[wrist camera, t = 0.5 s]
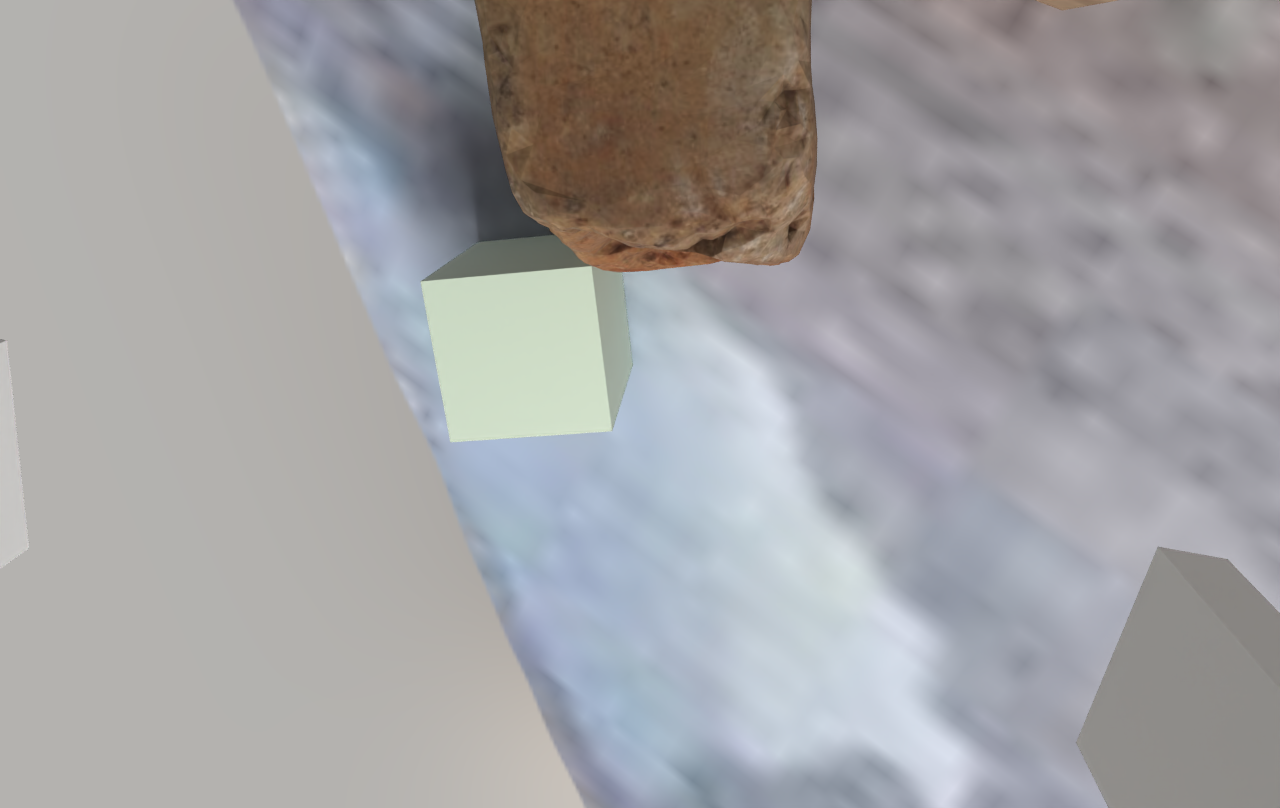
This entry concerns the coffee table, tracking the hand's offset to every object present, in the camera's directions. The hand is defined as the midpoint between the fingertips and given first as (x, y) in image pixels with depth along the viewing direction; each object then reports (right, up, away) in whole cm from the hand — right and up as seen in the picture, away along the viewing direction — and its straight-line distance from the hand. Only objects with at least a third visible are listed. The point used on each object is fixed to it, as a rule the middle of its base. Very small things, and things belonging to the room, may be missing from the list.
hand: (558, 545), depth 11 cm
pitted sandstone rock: (+3, +15, +26) cm, 30 cm away
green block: (-3, +6, +29) cm, 30 cm away
